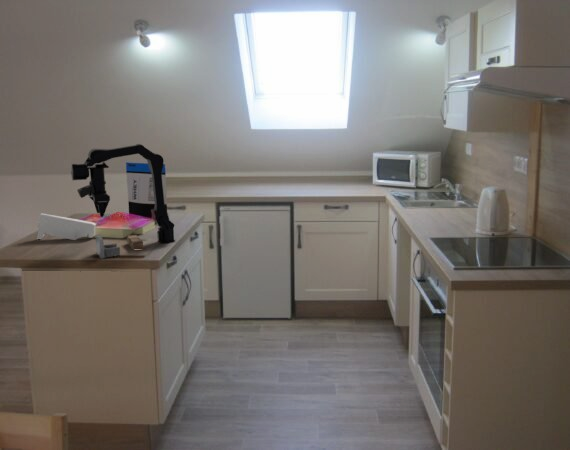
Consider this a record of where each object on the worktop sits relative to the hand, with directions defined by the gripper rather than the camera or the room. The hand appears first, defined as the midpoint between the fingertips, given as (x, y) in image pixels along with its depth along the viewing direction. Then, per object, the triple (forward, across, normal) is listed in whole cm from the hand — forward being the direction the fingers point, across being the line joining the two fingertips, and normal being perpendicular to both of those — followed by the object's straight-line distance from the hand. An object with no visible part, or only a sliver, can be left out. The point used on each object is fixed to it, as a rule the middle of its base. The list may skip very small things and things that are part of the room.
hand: (100, 214), depth 270 cm
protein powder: (+15, -52, +32) cm, 63 cm away
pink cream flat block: (+15, -32, +9) cm, 37 cm away
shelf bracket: (+15, -25, -12) cm, 32 cm away
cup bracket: (+15, +13, +1) cm, 20 cm away
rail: (+15, +4, +13) cm, 20 cm away
